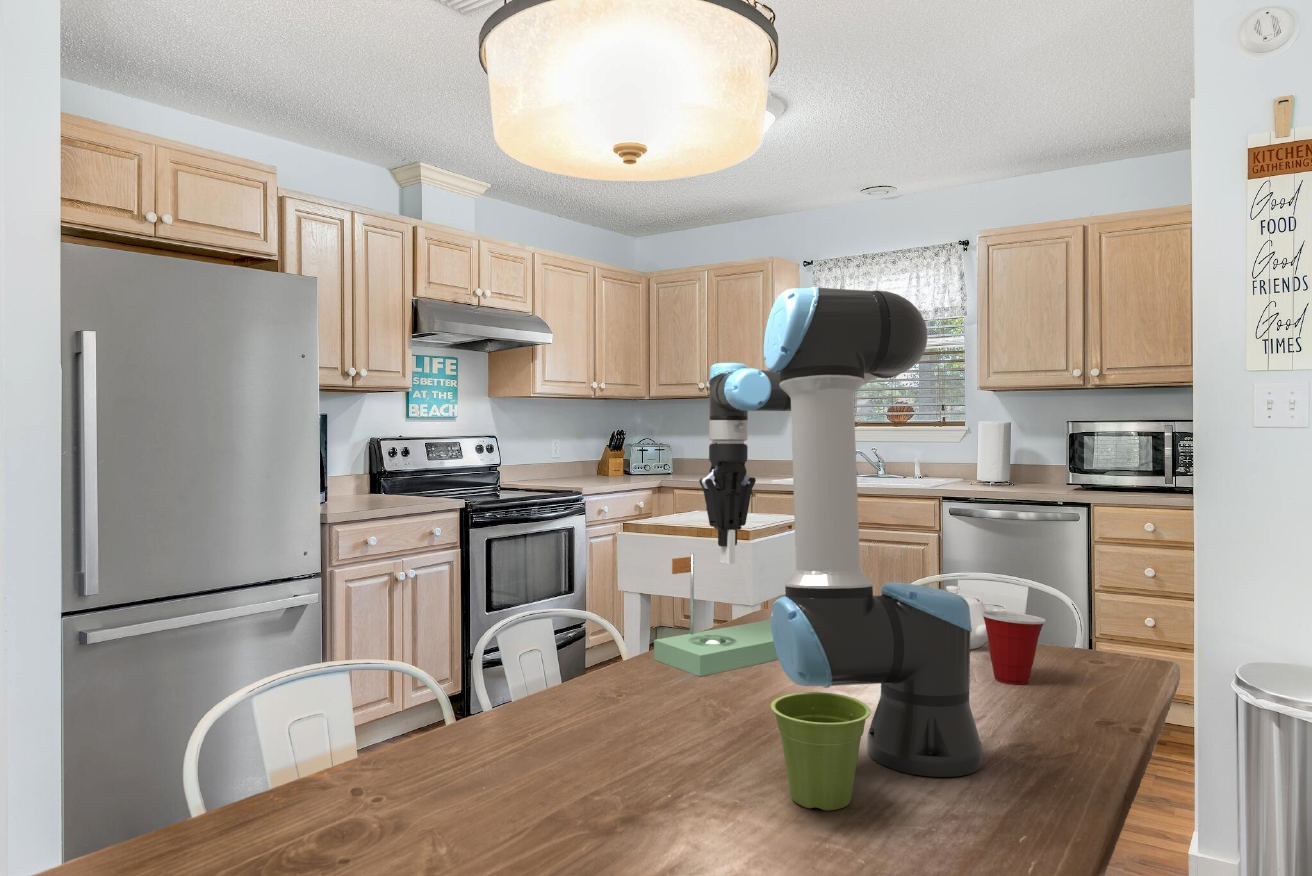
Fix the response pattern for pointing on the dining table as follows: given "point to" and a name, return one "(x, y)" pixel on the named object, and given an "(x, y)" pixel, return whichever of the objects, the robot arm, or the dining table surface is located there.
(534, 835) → the dining table surface
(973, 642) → the teapot
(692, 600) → the flag
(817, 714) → the plant pot
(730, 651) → the putting board
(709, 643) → the ball
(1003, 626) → the plastic cup
